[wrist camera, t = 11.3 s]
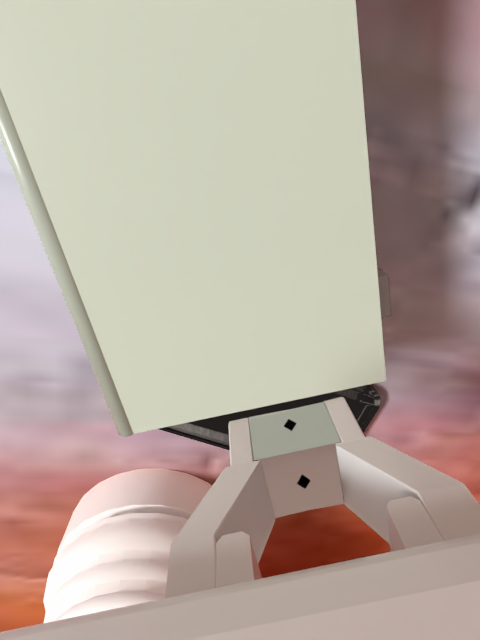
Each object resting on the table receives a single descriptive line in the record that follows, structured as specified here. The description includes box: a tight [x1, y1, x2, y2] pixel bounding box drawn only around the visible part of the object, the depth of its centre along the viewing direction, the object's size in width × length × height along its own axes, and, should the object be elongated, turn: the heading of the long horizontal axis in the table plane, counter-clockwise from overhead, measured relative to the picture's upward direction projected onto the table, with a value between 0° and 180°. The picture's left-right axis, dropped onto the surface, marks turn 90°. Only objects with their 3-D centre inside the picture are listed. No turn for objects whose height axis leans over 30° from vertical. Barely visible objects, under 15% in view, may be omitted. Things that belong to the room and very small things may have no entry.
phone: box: [159, 384, 381, 450], centre depth 27 cm, size 8×1×15 cm
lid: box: [0, 0, 386, 437], centre depth 15 cm, size 24×13×1 cm, turn 12°
